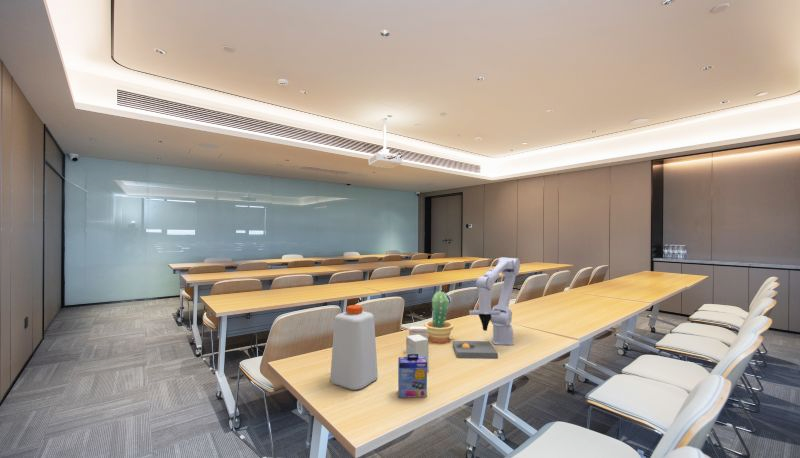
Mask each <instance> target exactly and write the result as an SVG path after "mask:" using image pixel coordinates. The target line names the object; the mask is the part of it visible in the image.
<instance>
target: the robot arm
mask: <svg viewBox="0 0 800 458" xmlns="http://www.w3.org/2000/svg"><path fill="white" fill-rule="evenodd" d="M520 268H521V261H520V259H519V258H518V257H516V258H515V257H503V256H501V257H499V259H498V261H497V264H496V266H494V268H489V269H488V271H486V272H485V273H484V274H483V275H480V276H478V277H477V279H476V280H475V281H476V282H475V285H476V288H477V292H478V309H471V310H470V309H469V316H478V317H479V320H480V322H481V326H482V330H483V331H485V332H487V331H488V326H489V323H490V322H491V324H492V325H493V326H492V333H493V334H492V338H490V340H491V341H492V343H493V344H494V345H499V346H502V345H503V346H505V345H506V346H507V345H508V346H509V345H510V346H511V345H514V328H513V326H512V324H511V323H512V320H513V317H512V316H513V311H512V310H511V309H510V308H509V304H510V300H511V297H512V293H513V288H514V284H515V281H516V277H518V275H519V272H520ZM500 274H502V275H503V276H504V280H503V283H502V287H501V292H500V295H499V299H498V302H497V303H498V304H496V305H494V306H493V307H492V289H493V287H494V284H495V282H496V281H497V279H499V277H500Z"/></svg>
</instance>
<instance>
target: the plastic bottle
mask: <svg viewBox="0 0 800 458" xmlns="http://www.w3.org/2000/svg"><path fill="white" fill-rule="evenodd" d="M375 327H376V326H375V316H374V314H373V313H372V312H369V311H364V310H363V306H362V305H360V304H351V305H347V306H346V310H345V311H344V312H341V313H338V314H336V315H335V317H334V321H333V334H332V348H331V349H332V350H331V362H330V363H331V364H330V377H329V378H330V382H331V383H332V385H335V386H337V387H342V388H345V389H347V390H353V391H358V390H361V389H364V388H365V387H367V386H368V385H370V384H371V383H372V382H373V383H374V381H376V380H377V379H378V375H379V373H378V372H379V371H378V358H377V344H376V343H377V342H376V329H375Z"/></svg>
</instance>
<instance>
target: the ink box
mask: <svg viewBox="0 0 800 458" xmlns="http://www.w3.org/2000/svg"><path fill="white" fill-rule="evenodd" d="M408 331H409V332H408V336H410V335H417V334H419V335H421V336H423V337H425V338H427V339H428V340H429V337H428V336H429V334H428V328H427V327H425V326H412V325H411V326H409V328H408Z"/></svg>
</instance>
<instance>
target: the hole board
mask: <svg viewBox="0 0 800 458" xmlns="http://www.w3.org/2000/svg"><path fill="white" fill-rule="evenodd" d="M465 343H467V344H469V346H470V348H462V345H463V344H465ZM452 348H453V351H454V353H455V357H456V359H498V357H499V354H498V353H499V352H498V351H497V349H496V348H495V347H494V345H493V344H492V343H491V341H489V340H452Z"/></svg>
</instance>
